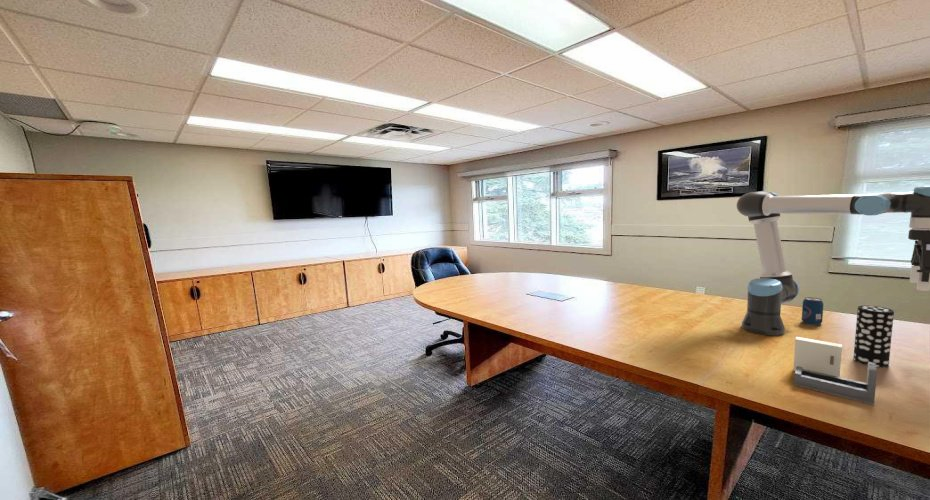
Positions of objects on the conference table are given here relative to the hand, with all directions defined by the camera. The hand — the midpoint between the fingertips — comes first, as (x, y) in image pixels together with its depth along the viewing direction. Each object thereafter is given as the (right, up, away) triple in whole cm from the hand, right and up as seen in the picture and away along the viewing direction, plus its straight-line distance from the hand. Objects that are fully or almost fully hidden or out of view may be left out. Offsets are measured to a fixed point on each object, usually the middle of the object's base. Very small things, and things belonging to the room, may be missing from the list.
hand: (918, 286), depth 125 cm
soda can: (-2, -22, +37) cm, 43 cm away
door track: (-50, -31, -17) cm, 62 cm away
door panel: (-46, -30, -7) cm, 55 cm away
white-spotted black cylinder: (-19, -28, -1) cm, 34 cm away
